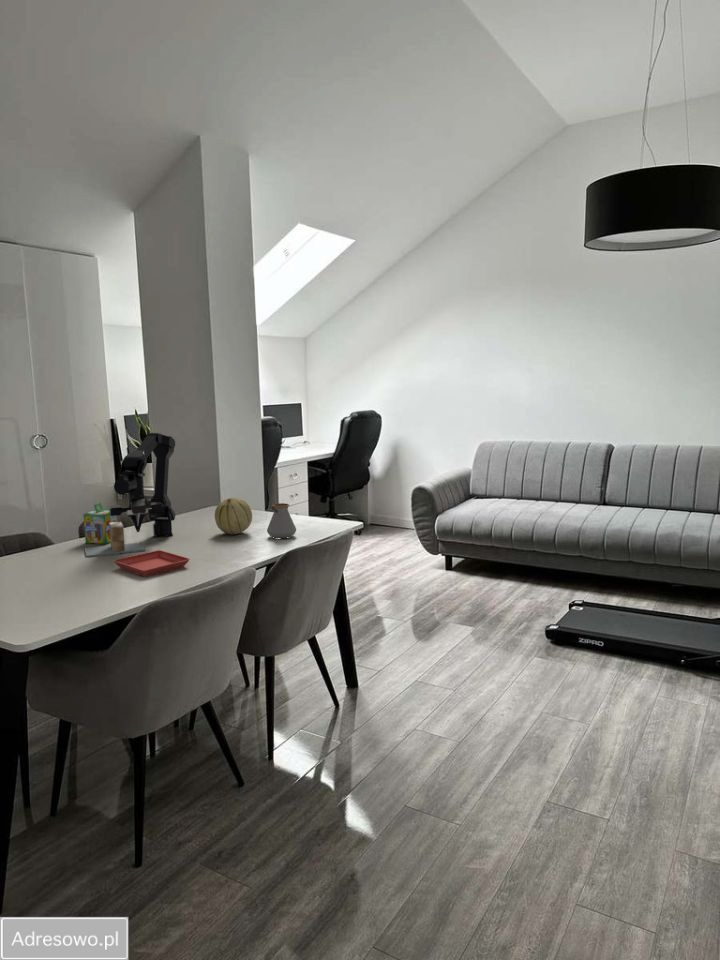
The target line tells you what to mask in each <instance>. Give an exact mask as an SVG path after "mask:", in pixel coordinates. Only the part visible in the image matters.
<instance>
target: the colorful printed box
mask: <svg viewBox="0 0 720 960" xmlns="http://www.w3.org/2000/svg"><path fill="white" fill-rule="evenodd" d="M102 505H103V504H102V503H101V502H98V503H95V504H94V505H93V507H94V510H91V511H88V512H86V513H83V523H84V524H83V525H84V527H83V528H84V537H85V544H86V543H95V544H97V545H98V544H100V545H102V544H104V545H107V544H111V537H110V523H112V522H118V516H111V515H110V513H109V509H103V506H102ZM98 507H99V508H100V509H98Z"/></svg>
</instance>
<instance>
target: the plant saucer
mask: <svg viewBox="0 0 720 960" xmlns="http://www.w3.org/2000/svg"><path fill="white" fill-rule="evenodd" d="M190 560H191V559H190V558H188V557H185V556H182V555H178V554H175V553H172V552H167V551H164V550H160V549H158V550H154V551H150V552H149V551H148V552H144V553H141V554H140V553H139V554H135V555H132V556H130V555H129V556H126V557H123V558H118V559H114V560H113V562H114V563H115V565H116V566H118V567H119V569H121V570H123V569H124V570H123V571H126V570H127V571H126V572H129V571H130V572H131V573H132V572H133V573H132V574H135V573H136V575H138V574H139V575H138V576H142V577H145V576H146V577H149V576H154V575H157V574H162V573H165V572H169V571H174V570H178V569H182V568H183V567H185V566H186V565H187V564H188V563H189V562H190Z"/></svg>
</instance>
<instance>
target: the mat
mask: <svg viewBox="0 0 720 960" xmlns="http://www.w3.org/2000/svg"><path fill="white" fill-rule="evenodd" d="M124 546H125V550H123V551H113V550H112V548H111V544H110V545H99V546H92V547H91V546H90V547H84V548H83V549H85V550H84V552H85V555H86V558H91V557H93V556H94V557H100V556H101V557H102V556H103V555H104V556H112V555H120V553H122V554H128V553H129V552H132V553H137V552H138V553H140V552H146V547H145V546H144V544H143V543H142V542H131V543H124ZM129 554H130V553H129ZM104 556H103V557H104Z"/></svg>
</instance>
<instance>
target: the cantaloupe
mask: <svg viewBox="0 0 720 960" xmlns="http://www.w3.org/2000/svg"><path fill="white" fill-rule="evenodd" d="M214 520H215V521H214V522H215V524H216V526H217V528H218V529H219V530H220V531H221V532H222V533H225V534H228V535H239V534H241V533H244V532H245V531H246V530H248V529H249V527H250V525H251V523H252V521H253V513H252V508H251V507H250V505H249V503H248V502H246V500H243V499H242V498H239V497H229V498H226V499H224V500H222V501H221V502H220V503H219V504H218V505H217V506H216V508H215V511H214Z"/></svg>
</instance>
